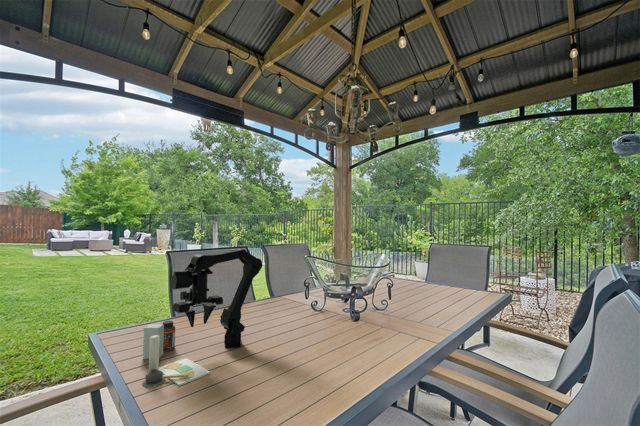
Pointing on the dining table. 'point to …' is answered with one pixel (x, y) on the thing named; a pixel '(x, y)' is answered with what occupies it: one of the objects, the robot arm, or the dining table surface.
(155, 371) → the peg dial
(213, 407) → the dining table surface
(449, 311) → the dining table surface
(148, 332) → the skincare box
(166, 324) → the supplement bottle
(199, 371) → the tuner board
